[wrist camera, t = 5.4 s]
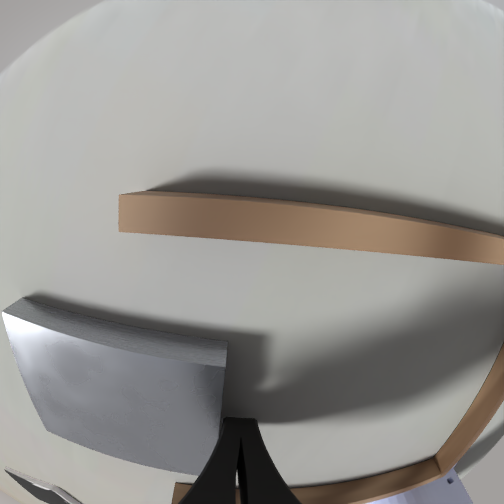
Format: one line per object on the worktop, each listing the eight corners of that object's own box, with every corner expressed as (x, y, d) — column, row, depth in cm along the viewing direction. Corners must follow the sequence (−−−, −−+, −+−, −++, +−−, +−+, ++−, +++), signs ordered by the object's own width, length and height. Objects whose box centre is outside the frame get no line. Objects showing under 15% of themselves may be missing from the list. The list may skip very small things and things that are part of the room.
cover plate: (228, 335, 11) (225, 367, 9) (216, 449, 12) (214, 477, 11) (26, 294, 10) (1, 311, 8) (59, 409, 12) (46, 430, 10)
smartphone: (2, 468, 16) (55, 491, 15) (5, 463, 17) (58, 483, 16) (37, 498, 18) (98, 520, 16) (39, 493, 19) (100, 513, 18)
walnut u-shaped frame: (539, 245, 10) (561, 254, 8) (435, 461, 14) (443, 476, 12) (144, 190, 9) (119, 194, 7) (176, 488, 13) (173, 509, 11)
